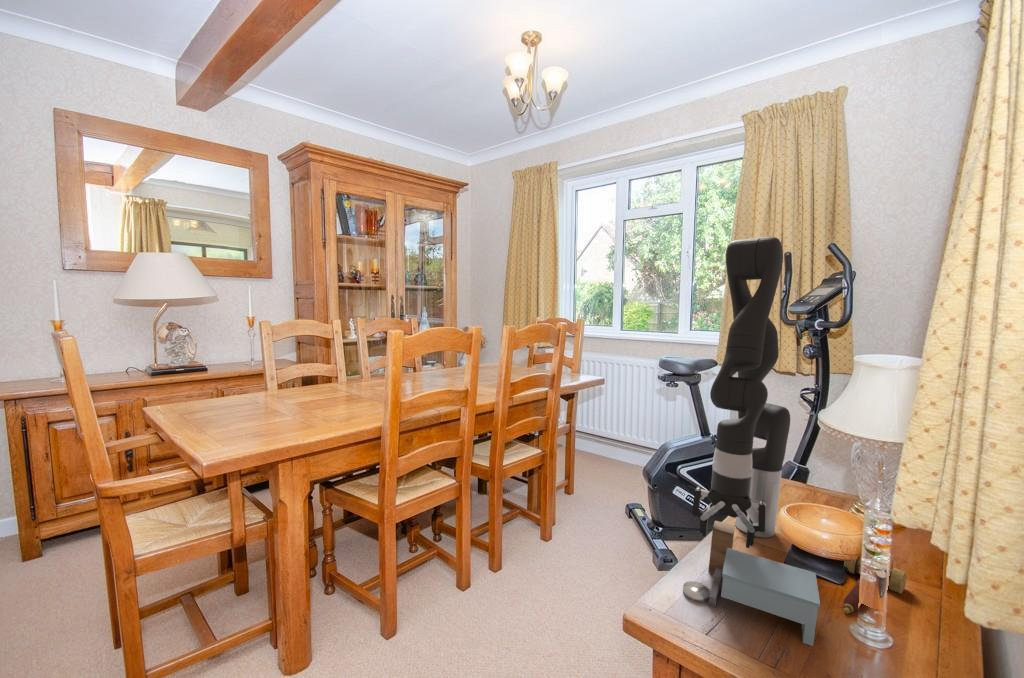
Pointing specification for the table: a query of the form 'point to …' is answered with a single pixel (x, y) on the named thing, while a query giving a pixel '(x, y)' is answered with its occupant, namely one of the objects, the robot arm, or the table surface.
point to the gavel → (852, 599)
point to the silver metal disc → (696, 591)
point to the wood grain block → (719, 555)
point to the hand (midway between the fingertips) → (725, 540)
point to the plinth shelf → (772, 589)
